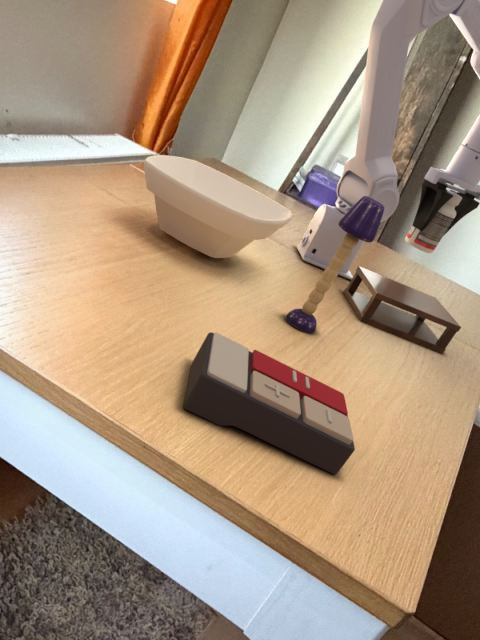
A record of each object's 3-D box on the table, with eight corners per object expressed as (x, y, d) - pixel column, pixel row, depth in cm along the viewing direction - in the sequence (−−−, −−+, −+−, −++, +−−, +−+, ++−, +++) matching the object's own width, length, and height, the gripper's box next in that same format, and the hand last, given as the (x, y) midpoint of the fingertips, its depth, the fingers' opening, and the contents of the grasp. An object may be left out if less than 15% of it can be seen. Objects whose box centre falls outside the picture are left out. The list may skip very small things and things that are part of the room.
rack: (360, 320, 110) (377, 292, 107) (342, 292, 119) (358, 265, 117) (442, 353, 112) (461, 327, 109) (419, 323, 122) (436, 297, 119)
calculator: (361, 444, 64) (205, 367, 63) (332, 481, 67) (182, 408, 66) (349, 391, 73) (212, 323, 72) (324, 426, 76) (192, 361, 75)
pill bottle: (436, 255, 133) (471, 201, 127) (421, 252, 129) (456, 196, 124) (413, 241, 135) (447, 188, 130) (398, 238, 132) (431, 183, 127)
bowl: (277, 270, 115) (306, 216, 110) (229, 288, 99) (260, 225, 94) (167, 209, 120) (189, 154, 115) (104, 216, 104) (127, 153, 99)
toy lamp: (319, 329, 99) (391, 205, 90) (317, 340, 95) (392, 212, 86) (286, 313, 99) (354, 188, 90) (283, 323, 95) (354, 193, 86)
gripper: (483, 153, 129) (435, 229, 137) (434, 132, 121) (386, 213, 129) (514, 169, 125) (463, 246, 133) (465, 148, 117) (414, 231, 125)
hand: (427, 231), depth 131 cm, fingers closed on pill bottle, 5 cm apart
